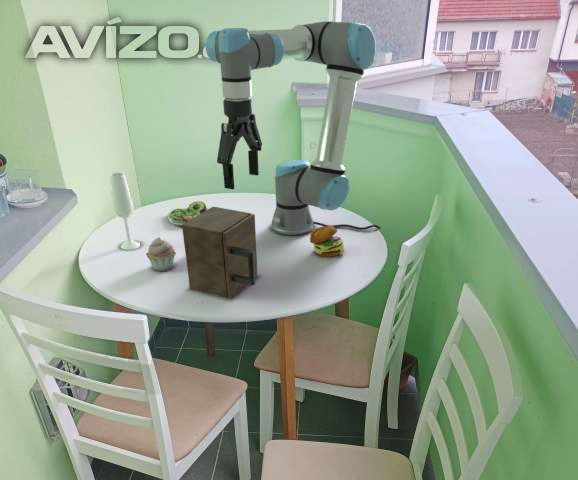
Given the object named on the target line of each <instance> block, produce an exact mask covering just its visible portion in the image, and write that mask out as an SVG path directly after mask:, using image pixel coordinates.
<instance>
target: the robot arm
mask: <svg viewBox="0 0 578 480" xmlns="http://www.w3.org/2000/svg"><path fill="white" fill-rule="evenodd" d="M376 50H377V44H376V37H375V35H374V33H373V30H372V29H371V28H370V26H368V25H367V24H365V23H359V22H345V21H329V20H326V21H319V22H313V23H305V24H296V25H295V26H293V28H287V29H282V28H281V29H261V30H260V29H259V30H257V29H256V30H248V29H247V28H244V27H227V28H226V27H225V28H222V29H220V30H213V31H211V32H210V33H209V34H208V35H207V37H206V40H205V53H206V55H207V57H208V58H209V60H211V61H212V62H214V63H218V64H220V73H221V74H220V75H221V88H222V97H223V98H224V99H223V100H222V104H223V114H224V116H226V117H227V118H228V119H227V122H221V126H220V130H221V131H220V138H219V145H218V151H217V157H216V163H217V164H220V165H222V175H223V176H222V177H223V185H224V187H223V188H224V189H228V190H235V176H234V164H233V163H232V161H233V158H234V154H235V150H236V148H237V143H238V142H240V140H241V138H243V139H244V142H245V144H247V147H248V149H249V150H248V151H247V154H248V155H247V156H248V173H249V176H250V175H251V176H257V177H258V176H259V173H260V172H259V152H261V151H262V146H263V142H262V138H261V134H260V132H259V129H258V124H257V122H256V121H257V120H256V114H255V113H253V99H251V97H253V91H252V71H254V70H258V69H265V68H272V67H275V66H277V65H280V63H281V62H282V60H286V59H287V60H288V59H293V60H295V61H297V62H310V63H314V64H320V65H325V66H326V68H325V71H326V73H327V75H328V76H329V80H328V87H327V93H326V99H325V105H324V110H323V115H322V120H321V121H322V123H321V128H320V133H319V138H318V139H319V140H318V146H317V154H316V157H315V159H314V160H313V161H311V163H310V162H309V161H308V160H307V159H292V160H287V161H282V162H280V163H278V164H277V165H276V167H275V175H274V182H275V183H274V184H275V186H274V187H275V210H274V213H273V216H272V219H271V229H272V231H273V232H275V233H277V234H279V235H284V236H299V235H300V236H301V235H305V234H308V233H310V232H312V231H313V230H314V225H317V226H320V227H324V226H329V224H325V223H322V222H318V221H314V219H313V216H312V213H311V209H310V206H311V207H314V208H315V207H316V208H319V209H320V210H327V211H335V210H337V209H339V208H340V207H341V206H342V205H343V203H344V202H345V201H346V199H347V197H348V194H349V191H350V183H349V182H350V181H349V178H348V177H347V176H346V175H345V173H346V167H345V166H344V164H343V159H344V153H345V148H346V142H347V137H348V132H349V127H350V121H351V117H352V110H353V106H354V102H355V101H354V99H355V96H356V95H355V94H356V90H357V83H358V82H359V81H360V80H361V79H363V78H364V74H365V70H368V69H370V68H371V66H372V65H373V63H374V61H375V58H376V53H377V51H376ZM332 226H333V227H335V228H343V227H345V228H349V229H354V230H361V231H363V230H368V229H372V228H376V229H378V230H381V229H382V228H381V227H380V226H379V225H377V224H371V225H367V226H364V227H363V226H362V227H359V226H355V225H351V224H345V223H343V224H333V225H332Z"/></svg>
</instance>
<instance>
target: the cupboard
mask: <svg viewBox="0 0 578 480" xmlns="http://www.w3.org/2000/svg"><path fill="white" fill-rule="evenodd" d="M251 214H252V213H251V212H247V211H241V210H235V209H229V208H225V207H217V206H211V207H209V209H208V210H206V211H205V212H203V213H201V214H199V215H198V216H196V217H194V218H193V219H191V220H189V221H187V222H186V223H184V224H182V227H181V228H182V229H181V230H182V236H183V244H184V251H185V252H184V253H185V261H186V268H187V275H188V277H187V278H188V285H189V290H191V291H196V292H200V293H205V294H208V295H212V296H216V297H221V298H224V299H229V298H228V294H227V282H226V269H225V257H224V245H223V233H224V232H225V231H227V230H228V229H230V228H231V227H233V226H234V225H236V224H237V223H239V222H240V221H242V220H243V219H245V218H246V217H248V216H249V215H251Z"/></svg>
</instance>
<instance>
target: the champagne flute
mask: <svg viewBox="0 0 578 480" xmlns="http://www.w3.org/2000/svg"><path fill="white" fill-rule="evenodd" d="M109 184H110V191H111V193H110V194H111V203H112V210H113V212H114V214H116V216H118V217H119V218H121V219H123V223H124V228H125V229H124V230H125V233H126V239H127V240H125V242H124V243H122V244H120V249H122V250H126V251H131V250H136V249H139V248H140V247H141V243H140V242H138V241H135V240H133V239H132V238H131V231H130V227H129V226H130V225H129V221H128V218H129V217H130V216H131V215H132V214H133V213H134V210H135V207H134V203H133V200H132V195H131V192H130V189H129V183H128V181H127V177H126V174H125V173H124V172H112V173H110V174H109Z"/></svg>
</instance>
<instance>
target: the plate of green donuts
mask: <svg viewBox="0 0 578 480" xmlns="http://www.w3.org/2000/svg"><path fill="white" fill-rule="evenodd" d="M208 209H210V207H207V205H206V204H205V203H204V201H200V200H199V201H193V202H191V203H190V204H189V205H188V206H187V207H179V208H174V209H172V210H170V211H169V212H168V214H167V218H168V222H169V223H170V224H171V225H174V226H175V227H178V228H182V224H184V223H186V222H187V221H189V220H191V219H193V218H194V217H196V216H198V215H199V214H201V213H203V212H205V211H206V210H208Z"/></svg>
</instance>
